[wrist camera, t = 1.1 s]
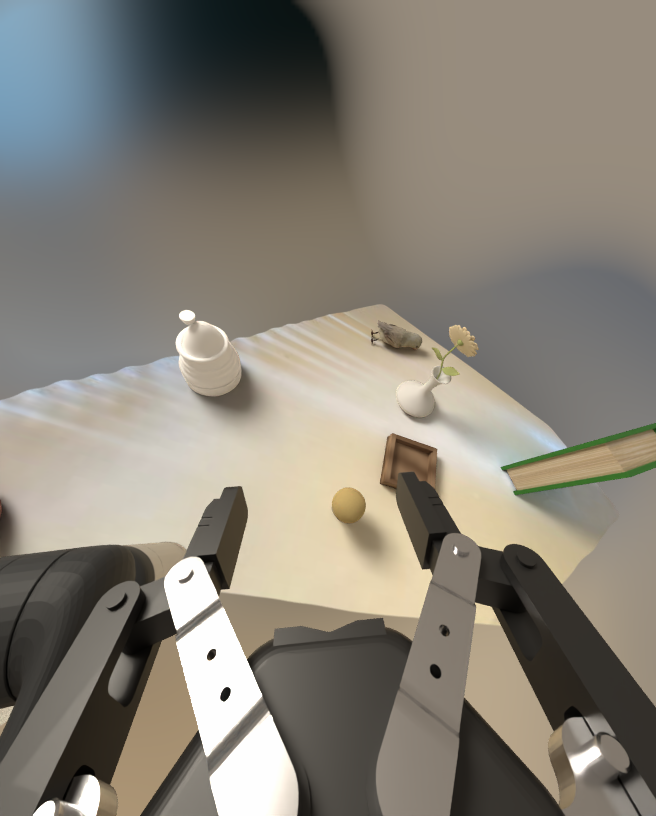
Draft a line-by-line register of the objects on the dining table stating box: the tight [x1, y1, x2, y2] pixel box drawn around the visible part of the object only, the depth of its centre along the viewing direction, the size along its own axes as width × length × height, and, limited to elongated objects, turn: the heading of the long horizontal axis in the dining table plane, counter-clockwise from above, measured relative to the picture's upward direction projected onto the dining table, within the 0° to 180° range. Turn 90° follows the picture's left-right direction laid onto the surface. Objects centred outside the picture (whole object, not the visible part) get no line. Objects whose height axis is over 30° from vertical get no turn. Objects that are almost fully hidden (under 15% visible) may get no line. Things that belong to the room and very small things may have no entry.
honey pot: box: [176, 310, 242, 396], centre depth 55 cm, size 13×13×18 cm
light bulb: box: [332, 488, 366, 523], centre depth 51 cm, size 6×6×10 cm
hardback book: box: [501, 423, 656, 495], centre depth 60 cm, size 18×7×24 cm, turn 105°
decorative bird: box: [371, 320, 422, 350], centre depth 77 cm, size 5×16×8 cm, turn 85°
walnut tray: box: [380, 433, 437, 489], centre depth 62 cm, size 12×12×3 cm
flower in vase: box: [396, 325, 479, 418], centre depth 62 cm, size 13×11×25 cm
